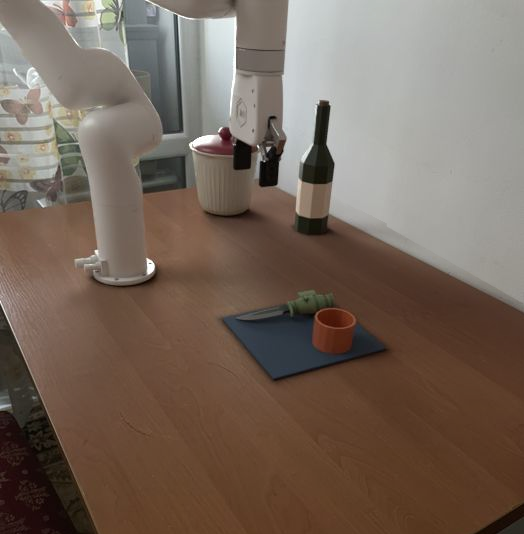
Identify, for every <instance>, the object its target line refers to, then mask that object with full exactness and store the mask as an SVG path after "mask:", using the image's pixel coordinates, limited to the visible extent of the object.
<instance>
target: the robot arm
mask: <svg viewBox="0 0 524 534" xmlns="http://www.w3.org/2000/svg"><path fill="white" fill-rule="evenodd" d="M145 1H146V2H148V3H150V4H152V5H155V6H157V7H159V8H161V9H164V10H165V11H167V12H170V13H172V14H175V15H177V16H179V17H182V18H185V19H189V20H195V21H196V20H209V19H210V20H211V19H212V20H219V19H231V18H234V56H233V57H234V58H233V60H234V61H233V66H234V67H233V78H232V79H233V80H232V85H231V94H230V107H229V108H230V109H229V128H230V132H231V134H232V135H233V136H234V137H233V140H232V142H233V145H236V146H233V169H234V170H246V169H250V168H251V154H252V146H253V147H254V146H257V145H259V149H260V152H259V153H260V156H261V159H262V160H259V169H258V170H259V171H258V186H259V187H260V188H269V187H277V186H278V184H279V175H280V174H279V173H280V170H279V169H280V162H281V161H282V155H283V154H284V152H285V146H286V143H287V141H288V140H287V139H288V137H287V135H286V133H285V131H284V130H283V123H284V122H283V119H284V83H283V75H285V62H286V47H287V34H288V33H287V32H288V17H289V16H288V15H289V14H288V13H289V1H290V0H145ZM0 24H1V26H2V27H3V28H4V30H5V31H7V34H9V35H10V36H11V37H12V39H13V40H14V42H15V43H16V44H17V45H18V46H19V48H20V49H21V51H22V52H23V54H24V55H25V57H26V58H27V60H28V61H29V64H30V65H31V66H32V67H33V68H34V70H35V71H36V73H37V75H38V76H39V77H40V79H41V80H42V82H43V83H44V84H45V86H46V87H47V89H48V90H49V91H50V93H51V95H52V96H53V97H54V99H56V101H57V102H58V103H59V105H61V106H62V107H63V108H64V109H67V110H69V111H77V112H78V111H85V110H90V109H94V108H98V109H95V110H93V111H91V112H90V113H88V114H87V115H85V116H84V117H83V119H82V120H81V121H80V123H79V126H78V128H77V142H78V146H79V150H80V153H81V156H82V159H83V162H84V166H85V169H86V175H87V178H88V186H89V193H90V199H91V207H92V215H93V222H94V231H95V239H96V246H97V249H95V250H94V251H93V253H94V254H93V255H90V256H89V257H85V258H84V257H82V258H75V259H74V266H75V269H76V270H78V269H80V270H81V269H83V270H84V272H85V273H86V272H92V276H93V277H94V279H95V280H97V281H98V282H99V283H102V284H105V285H110V286H120V287H121V286H133V285H137V284H142V283H144V282H146V281H148V280H150V279H151V278H153V277H154V275H155V274H156V265H155V263H154V262H153V261H152V260H151V259H149V258H148V251H147V239H146V227H145V211H144V201H143V200H144V199H143V198H144V197H143V187H142V182H141V180H140V177H139V174H138V172H137V170H136V168H135V166H134V163H133V162H134V161H133V160H135V159H137V158H139V157H142V156H144V155H147V154H150V153H151V152H153V151H155V150H156V149H157V148H158V147H159V146H160V144H161V143H162V140H163V137H164V136H163V135H164V129H163V124H162V121H161V118H160V117H161V116H159V113H158V111H157V110H156V107H155V106H154V105H153V103H152V102H151V100H150V99H149V96H148V95H147V94H146V92H145V91H144V89H143V88H142V86H141V85H140V83H139V82H138V80H137V79H136V77H135V75H134V74H133V72H132V71H131V69H130V68H129V66H128V65H127V64H126V63H125V61H124V60H123V59H122V58H121V57H120V56H118V55H117V54H116V53H115V52H113V51H111V50H109V49H107V48H103V47H87V48H84V47H82V46H81V45H80V44H78V43H77V41H76V40H75V38H74V37H73V36H72V34H71V33H70V31H69V30H68V28H67V27H66V25H65V23H64V22H63V21H62V20H61V18H60V17H59V16H58V15H57V13H55V12H54V10H52V9H51V8H50V7H48V6H47V5H46V4H45V3H44V2H43V1H41V0H0ZM99 107H102V108H99ZM267 148H269V149H267Z"/></svg>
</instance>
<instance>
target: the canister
mask: <svg viewBox="0 0 524 534" xmlns="http://www.w3.org/2000/svg"><path fill="white" fill-rule="evenodd" d="M233 137H234V136H233V135H232V134H231V132H230V126H222V127H220V128H219V130H218V134H209V135H203V136H201V137H198V138H196V139H195V140H194V141H192V142H190V143H189V149H190V150H191V151H192V159H193V160H192V161H193V167H194V177H195V185H196V192H197V197H198V202H199V204H200V207H201V208H202V210H203V211H205V212H207V213H210V214H213V215H216V216H236V215H239V214H243V213H244V212H246V211H247V210H248V208H250V207H249V206H250V204H251V201H252V197H253V190H254V184H255V178H256V171H257V165H258V157H259V153H261V152H260V149H259V145H257V146H254V147H253V146H252V154H251V168H250V169H246V170H234V169H233V146H236V145H233V142H232V140H233Z"/></svg>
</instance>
